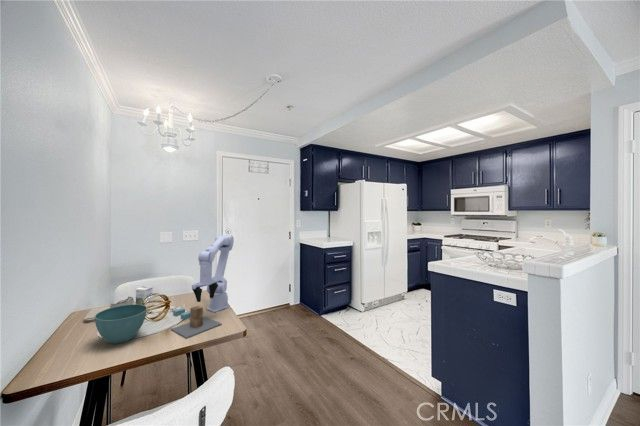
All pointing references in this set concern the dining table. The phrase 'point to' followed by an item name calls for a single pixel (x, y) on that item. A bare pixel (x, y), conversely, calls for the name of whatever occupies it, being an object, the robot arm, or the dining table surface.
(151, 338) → the dining table surface
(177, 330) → the rubber mat
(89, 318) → the washcloth
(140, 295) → the syrup box
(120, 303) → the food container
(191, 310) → the walnut block
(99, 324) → the teal bowl
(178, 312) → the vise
